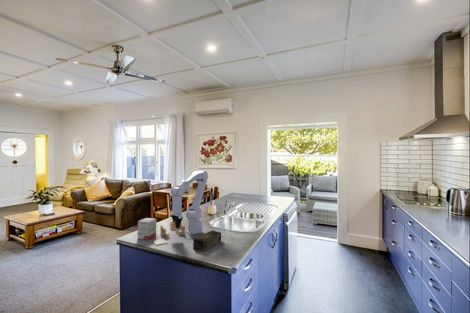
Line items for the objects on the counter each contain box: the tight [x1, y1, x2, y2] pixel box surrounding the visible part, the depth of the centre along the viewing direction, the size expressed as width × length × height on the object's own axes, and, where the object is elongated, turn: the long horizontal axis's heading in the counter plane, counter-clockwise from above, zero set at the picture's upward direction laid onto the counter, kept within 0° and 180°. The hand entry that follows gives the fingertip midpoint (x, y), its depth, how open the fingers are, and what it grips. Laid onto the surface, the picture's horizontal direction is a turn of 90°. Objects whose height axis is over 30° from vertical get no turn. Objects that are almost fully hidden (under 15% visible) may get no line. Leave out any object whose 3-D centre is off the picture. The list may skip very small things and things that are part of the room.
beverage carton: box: [192, 229, 222, 252], centre depth 137 cm, size 8×19×7 cm, turn 149°
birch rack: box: [159, 222, 186, 240], centre depth 154 cm, size 14×10×6 cm
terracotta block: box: [169, 220, 181, 232], centre depth 144 cm, size 6×4×5 cm, turn 121°
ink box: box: [137, 217, 157, 241], centre depth 148 cm, size 9×9×12 cm
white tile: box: [152, 238, 168, 246], centre depth 140 cm, size 7×7×1 cm
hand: (176, 227), depth 144 cm, fingers closed on terracotta block, 4 cm apart
